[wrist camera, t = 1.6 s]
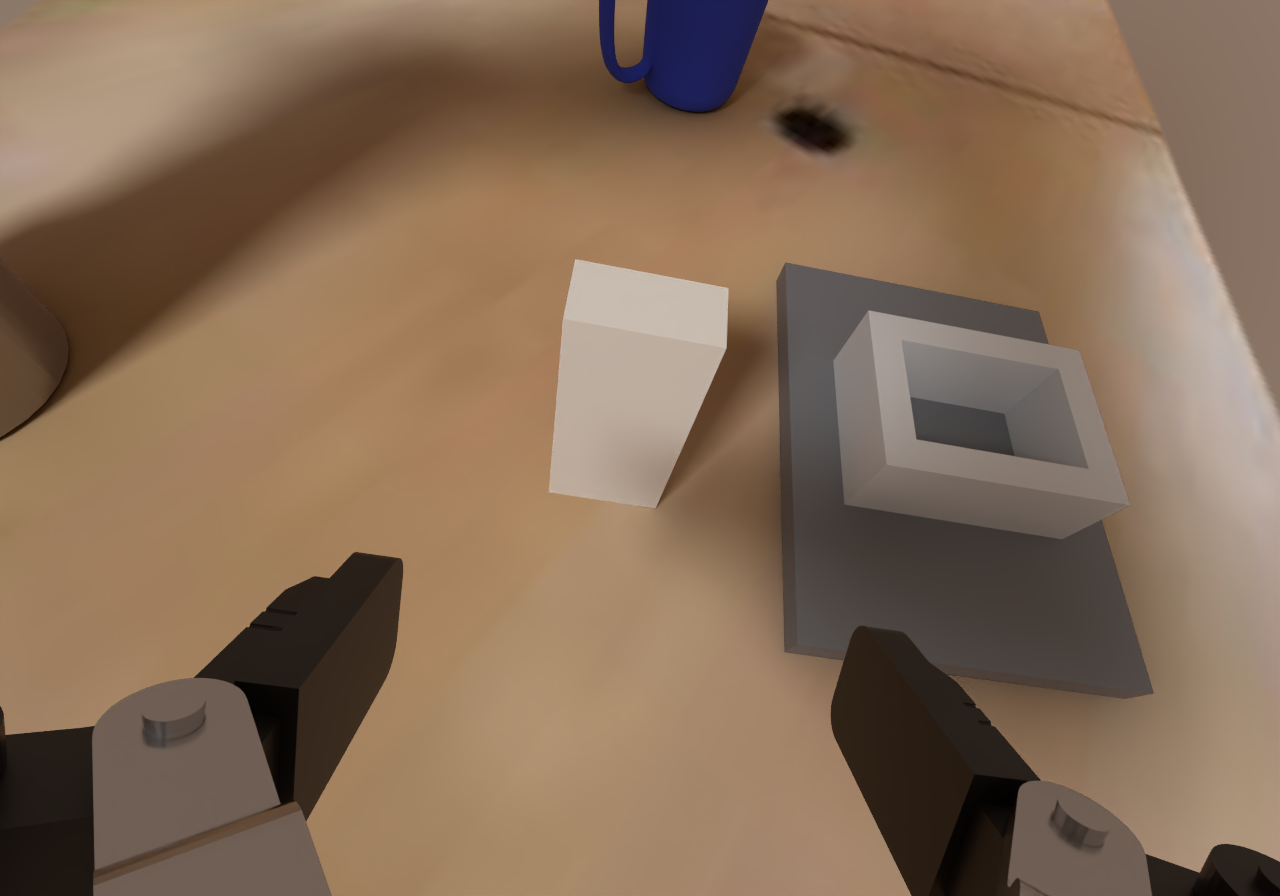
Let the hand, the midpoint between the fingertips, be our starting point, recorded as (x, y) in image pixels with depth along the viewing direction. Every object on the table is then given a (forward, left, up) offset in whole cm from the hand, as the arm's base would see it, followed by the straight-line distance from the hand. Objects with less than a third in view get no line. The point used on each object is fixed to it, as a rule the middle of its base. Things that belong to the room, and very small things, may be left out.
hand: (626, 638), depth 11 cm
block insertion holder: (-3, +22, -15) cm, 27 cm away
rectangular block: (-9, +6, -15) cm, 19 cm away
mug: (-35, +24, -16) cm, 46 cm away
